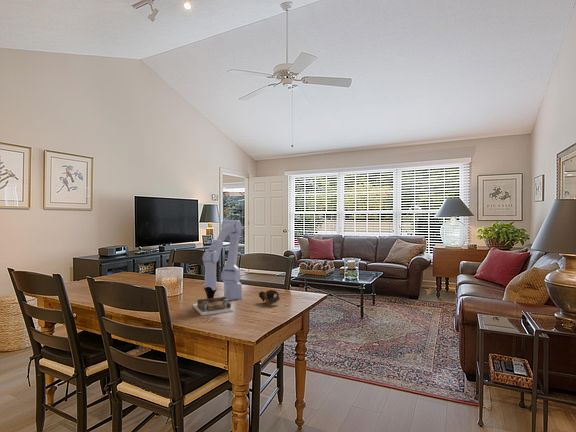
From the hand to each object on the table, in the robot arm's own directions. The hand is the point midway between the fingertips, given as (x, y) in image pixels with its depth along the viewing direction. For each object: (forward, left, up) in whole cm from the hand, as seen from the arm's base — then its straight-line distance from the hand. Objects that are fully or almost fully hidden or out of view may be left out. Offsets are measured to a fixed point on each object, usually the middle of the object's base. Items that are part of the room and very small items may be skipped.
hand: (210, 301), depth 171 cm
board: (0, +4, -3) cm, 5 cm away
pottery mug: (-30, +7, -3) cm, 31 cm away
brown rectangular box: (0, +7, -1) cm, 7 cm away
